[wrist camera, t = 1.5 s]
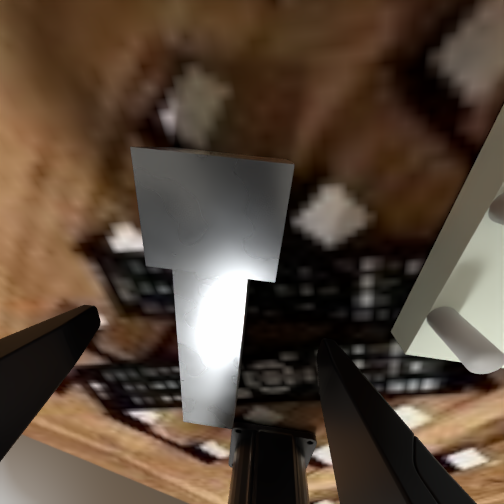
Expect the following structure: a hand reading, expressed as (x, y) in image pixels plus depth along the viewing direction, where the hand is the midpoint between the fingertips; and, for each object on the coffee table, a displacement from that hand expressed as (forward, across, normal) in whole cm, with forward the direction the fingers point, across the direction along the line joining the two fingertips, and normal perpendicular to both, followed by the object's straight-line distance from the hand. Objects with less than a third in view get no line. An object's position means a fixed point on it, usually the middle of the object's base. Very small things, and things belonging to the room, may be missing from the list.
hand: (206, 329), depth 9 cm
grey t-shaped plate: (+4, 0, 0) cm, 4 cm away
